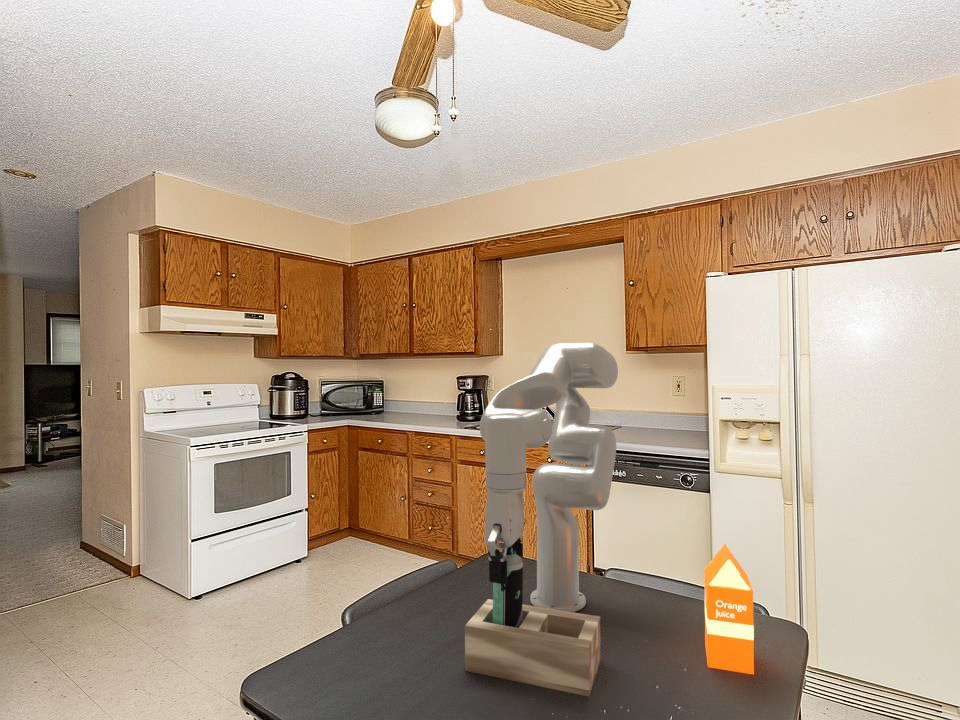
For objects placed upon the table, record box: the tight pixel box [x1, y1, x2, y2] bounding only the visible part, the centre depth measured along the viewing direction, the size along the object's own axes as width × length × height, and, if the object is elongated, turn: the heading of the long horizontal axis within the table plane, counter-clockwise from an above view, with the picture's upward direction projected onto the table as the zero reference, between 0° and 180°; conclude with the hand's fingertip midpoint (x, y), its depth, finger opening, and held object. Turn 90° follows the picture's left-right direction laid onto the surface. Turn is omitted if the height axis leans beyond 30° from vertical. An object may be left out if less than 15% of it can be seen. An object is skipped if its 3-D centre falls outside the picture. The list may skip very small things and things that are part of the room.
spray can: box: [492, 545, 524, 628], centre depth 102 cm, size 6×6×20 cm
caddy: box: [464, 598, 601, 697], centre depth 101 cm, size 12×22×8 cm, turn 69°
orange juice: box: [703, 542, 755, 675], centre depth 103 cm, size 8×9×20 cm
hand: (506, 572), depth 103 cm, fingers open, 9 cm apart
